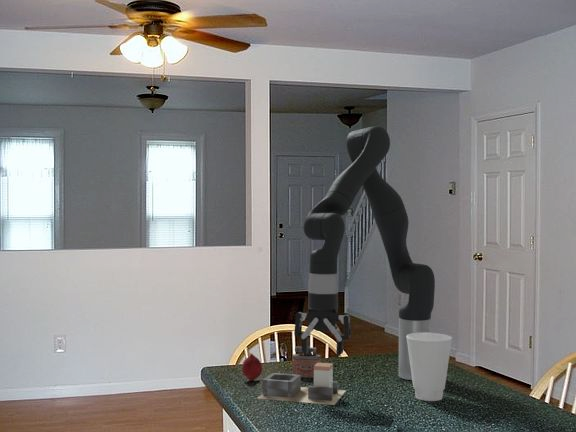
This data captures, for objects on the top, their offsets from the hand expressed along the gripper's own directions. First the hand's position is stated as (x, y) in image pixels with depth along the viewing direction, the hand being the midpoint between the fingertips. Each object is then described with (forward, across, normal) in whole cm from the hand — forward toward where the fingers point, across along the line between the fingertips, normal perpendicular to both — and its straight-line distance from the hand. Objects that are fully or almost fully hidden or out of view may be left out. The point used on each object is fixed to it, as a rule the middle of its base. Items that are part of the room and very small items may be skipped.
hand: (322, 354), depth 181 cm
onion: (+12, +24, -15) cm, 31 cm away
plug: (+11, 0, 0) cm, 11 cm away
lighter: (+12, +9, -19) cm, 25 cm away
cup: (+12, -26, -12) cm, 31 cm away
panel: (+12, +5, 0) cm, 13 cm away
